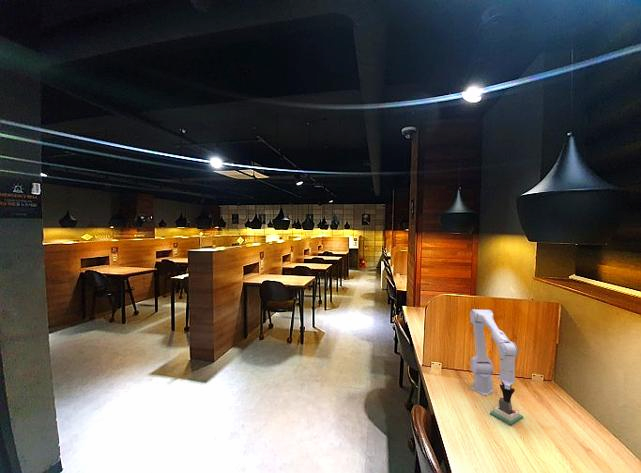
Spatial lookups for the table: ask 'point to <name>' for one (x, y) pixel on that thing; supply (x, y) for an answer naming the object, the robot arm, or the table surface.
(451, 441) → the table surface
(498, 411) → the frame
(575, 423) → the table surface
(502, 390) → the robot arm
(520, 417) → the board
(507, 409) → the plug
